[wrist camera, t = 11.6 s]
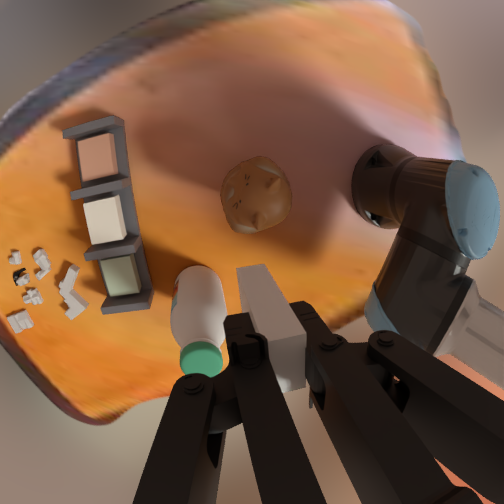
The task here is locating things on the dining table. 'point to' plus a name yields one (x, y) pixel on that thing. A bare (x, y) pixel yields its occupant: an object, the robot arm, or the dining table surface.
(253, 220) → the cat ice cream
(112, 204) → the cream key
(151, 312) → the dining table surface
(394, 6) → the dining table surface
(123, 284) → the sage key
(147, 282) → the keypad
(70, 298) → the white puzzle pieces
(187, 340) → the milk bottle
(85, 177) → the brown flat block
